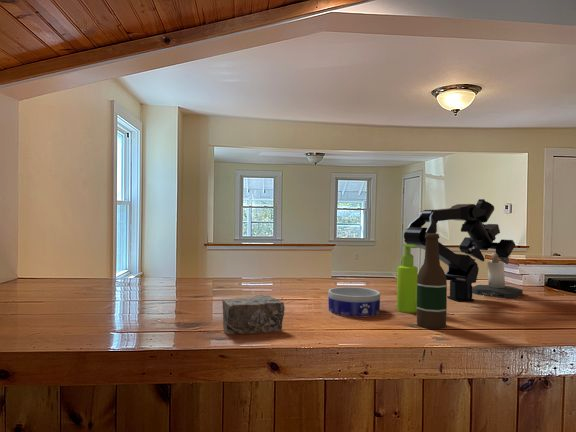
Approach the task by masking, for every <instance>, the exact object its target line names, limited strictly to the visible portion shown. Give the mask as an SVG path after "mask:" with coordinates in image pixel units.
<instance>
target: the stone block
mask: <svg viewBox="0 0 576 432" xmlns="http://www.w3.org/2000/svg"><path fill="white" fill-rule="evenodd" d="M285 310H286V309H285V303H284V302H283V301H282V300H280V299H277V298H275V297H272V296H270V295H269V294H257V295H254V296H246V297H233V298H223V299H222V323H223V324H222V326H223V327H222V328H223V332H224V333H225V335H235V334H236V335H247V334H248V335H252V334H256V332H258V333H272V331H275V332H280V331H282V330H283V321H284V316H285Z"/></svg>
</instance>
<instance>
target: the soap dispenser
mask: <svg viewBox="0 0 576 432" xmlns="http://www.w3.org/2000/svg"><path fill="white" fill-rule="evenodd" d="M402 247H404V253H403V254H402V255H401V265H398V266H397V267H396V268H397V269H396V272H397V275H396V280H397V281H396V310H397V311H398V312H400V313H408V314H409V313H411V314H412V313H413V314H414V313H417V277H418V273H419V269H418V268H419V267H417V266H415V265H414V255H413V254H411V250H412V249H418V248H417V247H418V246H416V245H413V244H407V243H404V244H403V243H402Z"/></svg>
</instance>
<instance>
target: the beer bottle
mask: <svg viewBox="0 0 576 432" xmlns="http://www.w3.org/2000/svg"><path fill="white" fill-rule="evenodd" d="M425 238H426V247H425V250H424V260H423V264H422V266H421V267H420V268H419V269H418V277H417V312H416V325H417V326H418V327H420V328H424V329H428V330H441V329H446V327H447V296H448V291H447V290H448V289H447V288H448V287H447V286H448V284H447V283H448V280H446V275H445V274H446V271H445V270H444V269H443V267H442V266H441V260H439V244H438V242H439V239H440V234H438V233H437V232H436V233H427V234H426V235H425Z"/></svg>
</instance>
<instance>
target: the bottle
mask: <svg viewBox="0 0 576 432" xmlns="http://www.w3.org/2000/svg"><path fill="white" fill-rule="evenodd" d="M505 280H506V279H505V263H504V262H503V261H500V258H499V257H498V255H497V254H496V252H492V253H491V261H487V282H488V284H487V285H489V287H491V288H504V287H505V286H506V281H505Z"/></svg>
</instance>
